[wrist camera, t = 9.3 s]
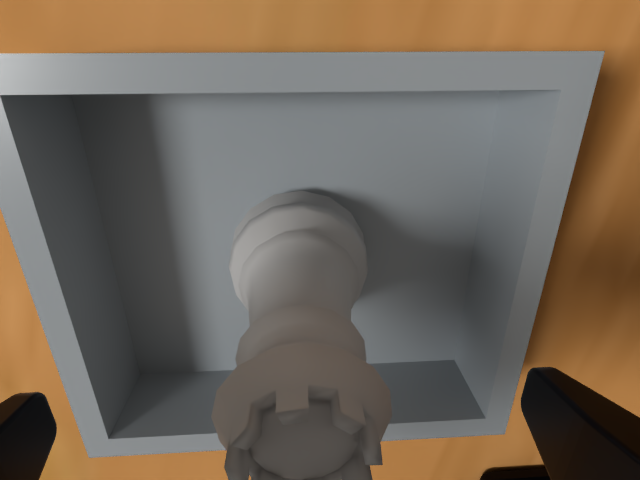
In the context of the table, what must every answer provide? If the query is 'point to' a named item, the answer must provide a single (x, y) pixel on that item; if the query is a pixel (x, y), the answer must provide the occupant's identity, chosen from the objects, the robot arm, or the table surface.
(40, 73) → the tray
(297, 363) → the rook chess piece
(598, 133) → the table surface
